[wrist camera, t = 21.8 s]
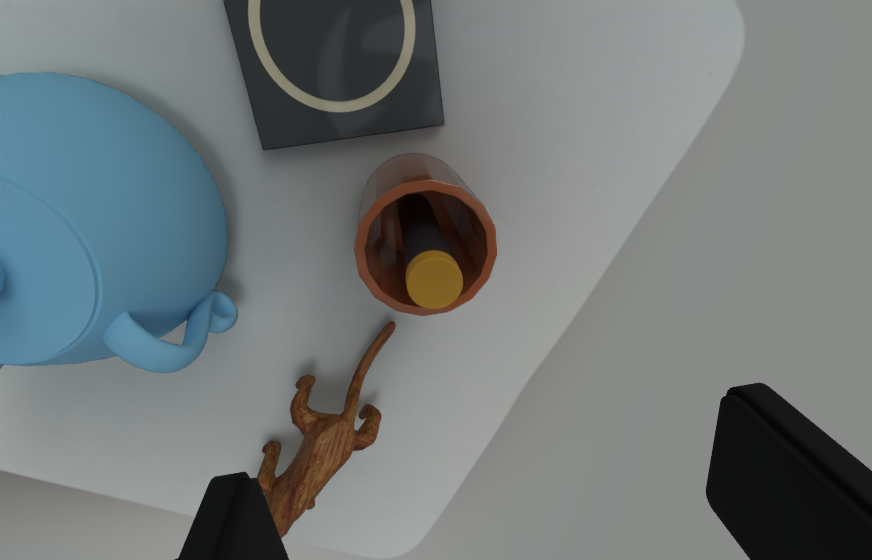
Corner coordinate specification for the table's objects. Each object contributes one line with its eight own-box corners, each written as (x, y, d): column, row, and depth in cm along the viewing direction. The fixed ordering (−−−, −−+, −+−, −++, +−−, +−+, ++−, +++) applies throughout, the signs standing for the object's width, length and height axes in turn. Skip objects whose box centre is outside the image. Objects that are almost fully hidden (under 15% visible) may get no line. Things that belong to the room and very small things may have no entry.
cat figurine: (355, 291, 33) (341, 419, 21) (430, 334, 35) (458, 475, 23) (234, 461, 38) (163, 649, 26) (307, 491, 40) (274, 679, 28)
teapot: (317, 215, 31) (280, 297, 19) (155, 413, 36) (48, 575, 24) (0, -25, 24) (-340, -117, 13) (-148, 256, 29) (-499, 375, 17)
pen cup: (352, 161, 30) (341, 192, 22) (460, 145, 30) (491, 170, 22) (371, 263, 33) (369, 325, 25) (470, 247, 33) (501, 303, 25)
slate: (204, -90, 24) (196, -98, 23) (416, -115, 25) (417, -123, 24) (266, 148, 29) (262, 151, 28) (442, 123, 30) (444, 125, 29)
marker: (394, 195, 30) (402, 262, 19) (431, 190, 30) (460, 253, 19) (399, 231, 31) (411, 314, 20) (435, 225, 31) (466, 305, 20)
